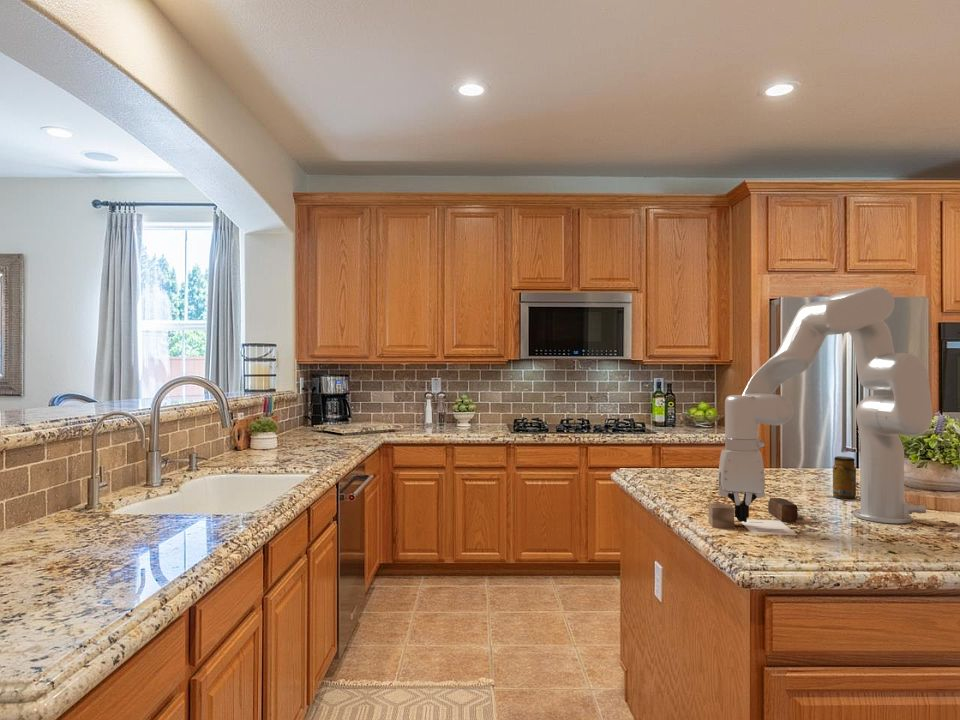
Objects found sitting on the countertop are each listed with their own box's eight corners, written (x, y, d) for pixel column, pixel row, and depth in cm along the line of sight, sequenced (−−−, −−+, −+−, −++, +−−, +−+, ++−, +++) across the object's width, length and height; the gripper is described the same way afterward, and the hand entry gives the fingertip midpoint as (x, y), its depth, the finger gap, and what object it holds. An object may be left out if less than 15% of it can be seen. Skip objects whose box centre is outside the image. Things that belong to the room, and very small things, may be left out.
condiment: (845, 494, 194) (845, 455, 194) (868, 500, 185) (867, 459, 185) (825, 495, 192) (824, 456, 192) (847, 501, 184) (846, 460, 184)
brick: (798, 523, 158) (798, 505, 158) (781, 523, 158) (781, 504, 159) (783, 514, 168) (783, 496, 169) (767, 513, 169) (767, 496, 169)
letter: (779, 521, 160) (779, 520, 160) (797, 535, 146) (797, 534, 146) (738, 519, 162) (738, 518, 162) (751, 533, 148) (751, 532, 148)
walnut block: (729, 524, 157) (729, 503, 157) (734, 529, 152) (734, 508, 152) (708, 523, 158) (708, 503, 158) (712, 528, 153) (712, 507, 153)
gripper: (769, 444, 157) (769, 518, 157) (706, 443, 160) (706, 515, 160) (778, 448, 150) (778, 525, 150) (712, 446, 153) (712, 523, 152)
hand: (741, 520), depth 155 cm, fingers closed
